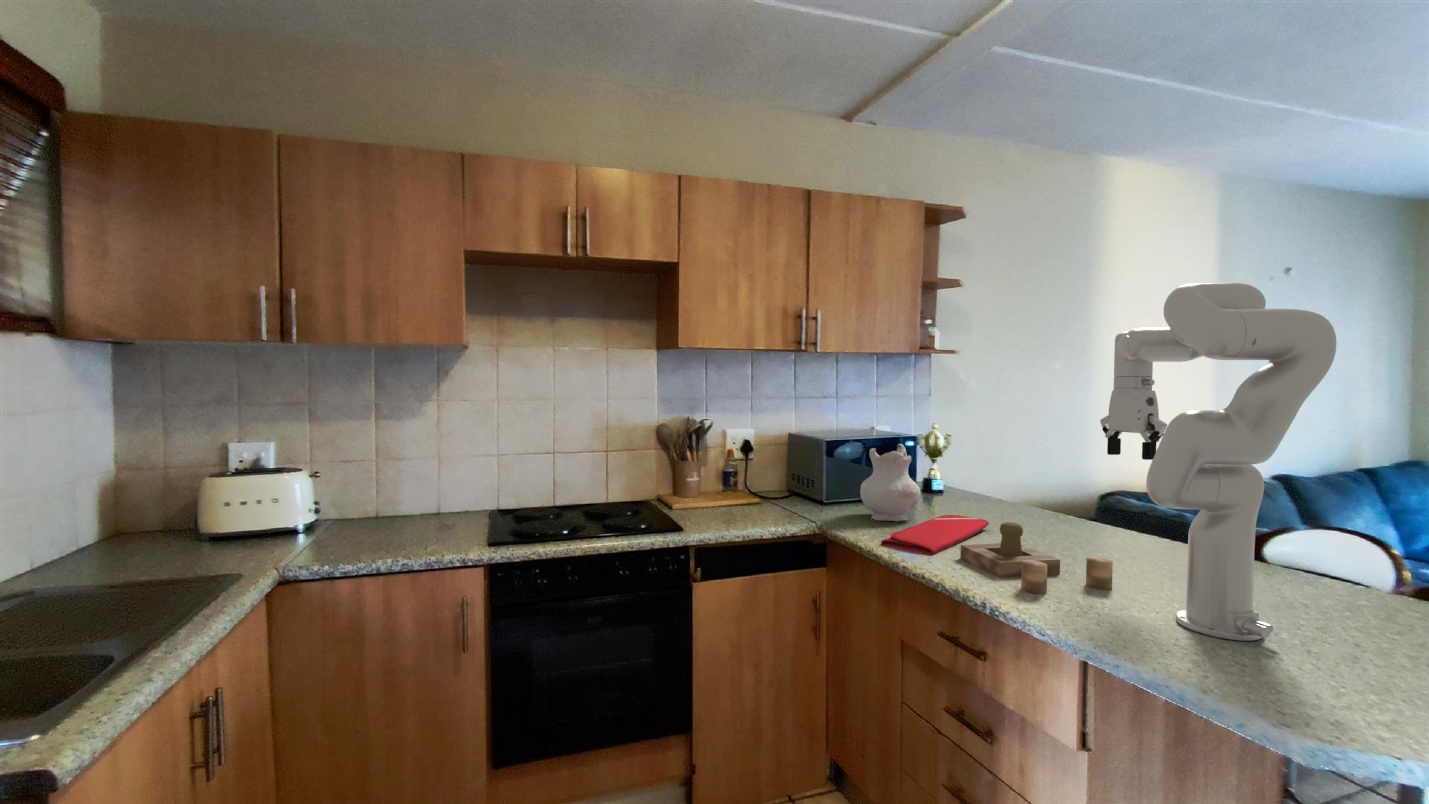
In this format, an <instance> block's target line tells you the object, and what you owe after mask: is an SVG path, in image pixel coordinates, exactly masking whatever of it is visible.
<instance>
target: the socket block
mask: <svg viewBox="0 0 1429 804" xmlns="http://www.w3.org/2000/svg"><path fill="white" fill-rule="evenodd" d="M1000 545H1001V542H1000V543H997V542H995V543H979V544H978V543H976V544H973V543H971V544H960V556H959V557H960V559H961V560H963V561H965V562H967V563H970V564H971V565H973V566H975V567H977V568H979V569H982V570H984V571H986V572H988V573H990V574H992V575H994V576H996V577H998V578H1012V577H1015V578H1017V577H1021V570H1022V561H1025V560H1032V561H1039V562H1043V563H1045V564H1047V574H1051V575H1060V573H1061V558H1057V557H1054V556H1052V555H1050V554H1047V553H1044V552H1042V551H1039V550H1037V549H1034V548H1031V547H1029V546H1026V545H1023V544H1021V547H1022V556H1016V557H1003V556H1001V555H999V551H1000Z"/></svg>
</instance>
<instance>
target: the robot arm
mask: <svg viewBox="0 0 1429 804" xmlns="http://www.w3.org/2000/svg"><path fill="white" fill-rule="evenodd" d="M1266 303H1267V302H1266V297H1265V295H1264V294H1263V292H1261V290H1260V289H1258V288H1257V287H1255V286H1254V285H1250V284H1247V283H1241V282H1204V283H1202V282H1201V283H1200V282H1199V283H1198V282H1197V283H1196V282H1194V283H1186V284H1183V285H1180V286H1178V287H1176V288H1175V289H1174V290H1172V291H1171V293H1170V294H1169V295H1168V297H1167V298H1166V299H1165V302H1164V305H1163V317H1164V320H1165V322H1166V324H1167V325H1168V327H1140V328H1139V327H1138V328H1133V329H1130V330H1128V331H1123V332H1120V333H1118V334H1116V335H1115V338H1114V354H1113V355H1114V357H1113V361H1114V362H1113V363H1114V365H1113V390H1112V391H1111V394H1110V399H1109V406H1108V415H1105V416H1104V417H1103V418H1101V419H1100V421H1099V422H1100V425H1101V428H1102V431H1103V433H1104V437H1105V438H1107V447H1106V449H1107V453H1106V454H1107V455H1108V456H1109V455H1110V456H1114V455H1115V456H1118V455H1121V449H1122V448H1121V447H1122V445H1121V444H1122V443H1121V442H1122V439H1121V437H1120V436H1121V434H1122V433H1131V434H1140V436H1141V437H1142V438H1143V440H1144V441H1143V442H1142V443H1141V445H1142V446H1141V459H1142V460H1144V461H1146V460H1147V461H1148V460H1150V461H1151V463H1150V466H1149V468H1148V471H1147V473H1146V474H1147V475H1146V479H1145V480H1146V481H1145V482H1146V484H1145V486H1146V491H1147V495H1148V497H1149V498H1150V499H1151V501H1153V503H1154V504H1156V505H1158V506H1160V507H1163V508H1165V509H1166V508H1167V509H1175V510H1176V509H1177V510H1199V512H1198V513H1197V515H1196V516H1195V518H1193V520H1192V521H1191V523H1190V526H1189V529H1188V540H1187V572H1186V573H1187V574H1186V598H1185V599H1186V604H1185V605H1186V607H1185V609H1182V610H1179V611H1177V612H1176V613H1175V620H1176V621H1177V622H1178V623H1179V624H1180V625H1181V626H1183V627H1185V628H1186V629H1189V630H1191V631H1194V632H1197V633H1201V634H1204V635H1207V636H1211V637H1215V638H1219V639H1224V640H1225V639H1227V640H1233V641H1242V642H1243V641H1245V642H1247V641H1248V642H1250V641H1257V640H1260V639H1262V638H1263V639H1267V638H1268V637H1270V635H1271V633H1273V631H1274V627H1273V625H1272V624H1269V623H1266V622H1262V621H1260V619H1259V617H1260V612H1259V611H1256V610H1253V608H1254V607H1253V604H1254V603H1253V602H1254V577H1255V576H1254V575H1255V549H1256V548H1255V547H1256V546H1255V545H1256V543H1255V542H1256V528H1257V520H1258V515H1259V510H1260V506H1261V503H1262V501H1263V500H1262V499H1263V496H1264V492H1265V481H1264V478H1263V476H1262V473H1261V472H1260V471H1259V470H1258V468H1256V466H1254V465H1258V464H1262V463H1263V464H1264V463H1265V462H1267V461H1269V459H1271V457H1272V456H1273V455H1274V454H1275V452H1276V451H1277V449H1278V447H1279V445H1281V442H1282V441H1283V439H1284V437H1285V435H1286V434H1287V432H1288V430H1289V429H1290V428H1291V425H1292V423H1293V422H1294V420H1295V419H1296V416H1297V415H1298V413H1299V410H1300V408H1301V407H1302V406H1303V404H1304V402H1306V400H1307V398H1308V397H1309V396H1310V395H1311V394H1312V393H1313V391H1314V390H1315V389H1316V388H1317V387H1318V386H1319V385H1320V383H1321V382H1322V380H1323V379H1324V378H1325V377H1326V376H1327V373H1329V370H1330V369H1331V367H1332V365H1333V362H1334V360H1335V357H1336V352H1337V336H1336V335H1337V334H1336V332H1335V329H1334V328H1335V327H1334V326H1333V324H1332V323H1331V321H1329V320H1328V319H1327V318H1326V317H1325V316H1323V315H1321V314H1319V313H1317V312H1313V311H1309V310H1306V309H1295V308H1266V307H1267V306H1266V305H1267V304H1266ZM1201 357H1205V358H1207V359H1211V360H1215V361H1216V360H1217V361H1218V360H1219V361H1268V363H1267V364H1266V365H1264V366H1262V367H1261V368H1259V369H1258V370H1256V371H1255V372H1253V373H1251V375H1249V376H1248V377H1247V378H1246V379H1245V380H1244V381H1243V382H1241V384H1240V385H1239V386H1238V387H1237V389H1236V391H1235V393H1234V395H1233V397H1232V399H1231V400H1230V403H1229V404H1228V405H1227V406H1226V407H1225V408H1222V409H1219V410H1218V409H1217V410H1216V409H1215V410H1208V409H1207V410H1205V409H1203V410H1201V409H1200V410H1198V409H1197V410H1189V411H1185V412H1182V413H1180V414H1177V415H1176V416H1175V417H1174V418H1172V419H1171V421H1170V422H1169V423H1168V424H1167V423H1166V422H1165V421H1163V420H1161V419H1160V415H1159V414H1160V413H1159V404H1158V403H1159V402H1158V398H1157V393H1156V391H1155V390H1153V386H1154V385H1155V380H1154V379H1153V370H1154V369H1153V368H1154V367H1153V364H1154V363H1155V362H1157V363H1158V362H1161V363H1162V362H1163V363H1164V362H1165V363H1167V362H1170V363H1173V362H1175V363H1181V362H1190V361H1193V360H1195V359H1198V358H1201ZM1160 439H1161V440H1160ZM1157 443H1159V445H1158V446H1157Z"/></svg>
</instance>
